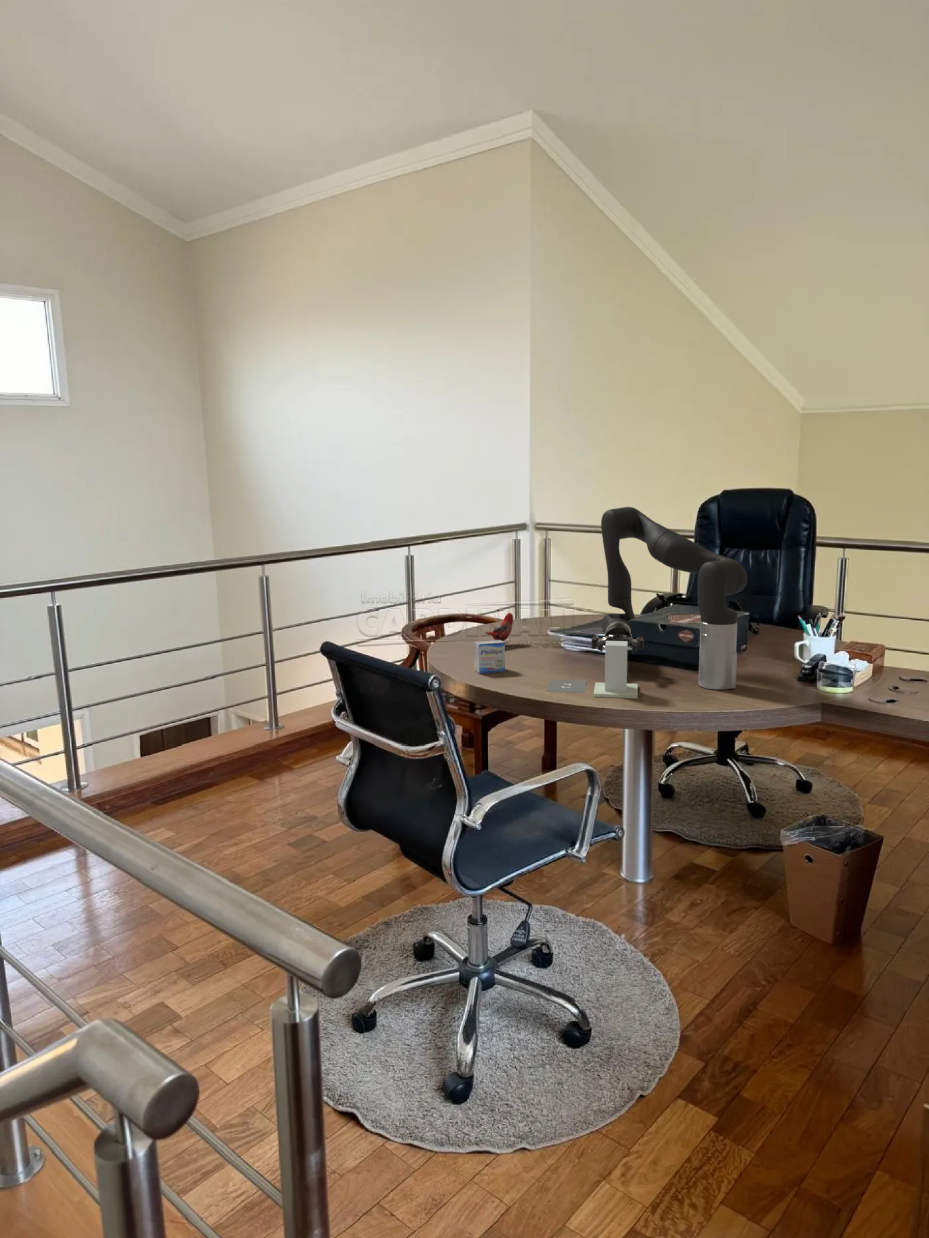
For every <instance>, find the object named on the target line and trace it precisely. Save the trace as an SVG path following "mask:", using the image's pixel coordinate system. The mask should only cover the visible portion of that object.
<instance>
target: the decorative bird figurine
mask: <svg viewBox="0 0 929 1238" xmlns="http://www.w3.org/2000/svg"><path fill="white" fill-rule="evenodd" d="M502 619H503V620H502V621H501V622H500V623H499V624H497V626H496V627H494V629H493V630H492V631H487V632H484V633H485V634H486V635H488V636H489V635H490V636H491V637H492V639H494V641H495V640H501V641H503V642H504V641H506V640H507V639H508V638H509V636H510V635H511V633H512V629H513V624H514V615H513V614H512V612H508V613H507V614H505V616H504V618H502ZM504 643H505V645H506V644H507V643H508V641H507V642H504Z"/></svg>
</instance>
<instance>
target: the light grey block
mask: <svg viewBox="0 0 929 1238" xmlns="http://www.w3.org/2000/svg"><path fill="white" fill-rule="evenodd" d="M604 650H605V652H604V683H605V691H618V692H627V683H628V650H627V641H606V644H605V649H604Z"/></svg>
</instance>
